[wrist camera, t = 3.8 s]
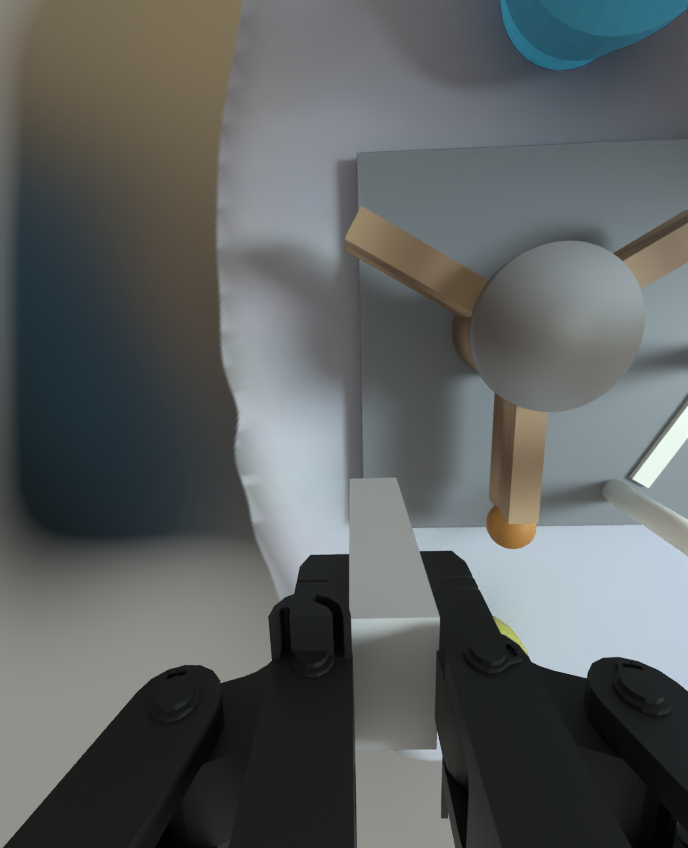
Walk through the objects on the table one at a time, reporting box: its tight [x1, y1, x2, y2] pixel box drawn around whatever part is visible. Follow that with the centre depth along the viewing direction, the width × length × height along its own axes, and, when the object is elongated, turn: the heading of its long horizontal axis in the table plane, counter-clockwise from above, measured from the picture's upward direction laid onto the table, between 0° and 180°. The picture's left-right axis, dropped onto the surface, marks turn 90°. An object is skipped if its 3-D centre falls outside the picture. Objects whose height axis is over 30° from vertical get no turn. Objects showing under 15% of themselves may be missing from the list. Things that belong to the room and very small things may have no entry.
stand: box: [357, 138, 688, 556], centre depth 20 cm, size 21×21×9 cm
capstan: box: [345, 206, 688, 549], centre depth 20 cm, size 16×16×7 cm
